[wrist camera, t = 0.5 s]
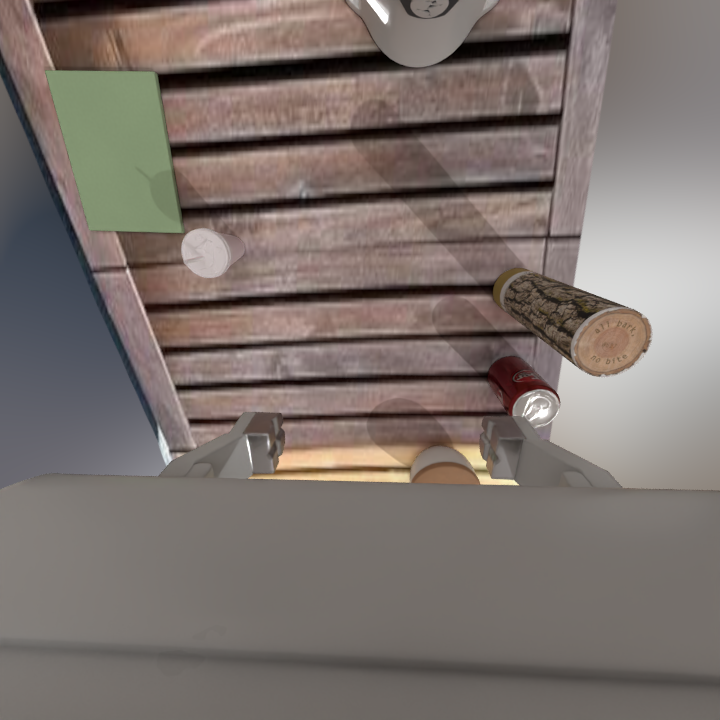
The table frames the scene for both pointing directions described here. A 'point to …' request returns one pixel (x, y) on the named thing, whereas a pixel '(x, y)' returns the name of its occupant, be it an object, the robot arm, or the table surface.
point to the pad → (118, 149)
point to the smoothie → (210, 252)
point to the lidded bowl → (442, 467)
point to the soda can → (523, 391)
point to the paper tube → (575, 322)
